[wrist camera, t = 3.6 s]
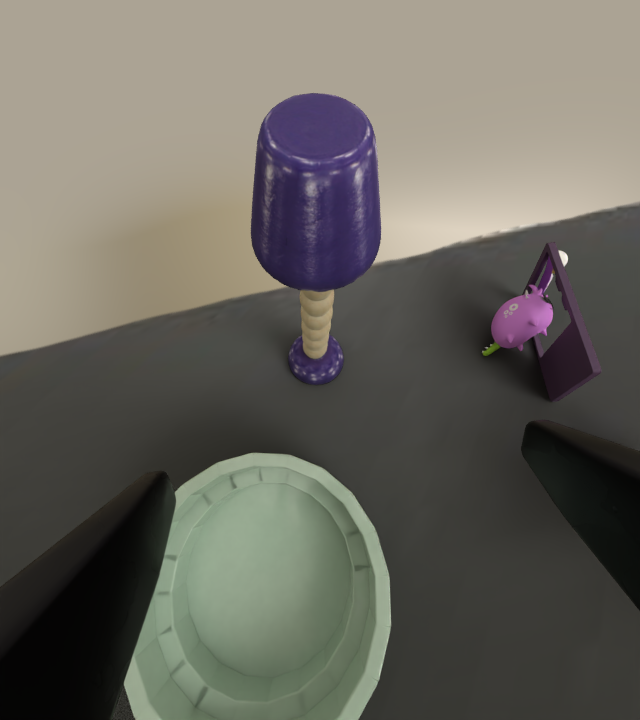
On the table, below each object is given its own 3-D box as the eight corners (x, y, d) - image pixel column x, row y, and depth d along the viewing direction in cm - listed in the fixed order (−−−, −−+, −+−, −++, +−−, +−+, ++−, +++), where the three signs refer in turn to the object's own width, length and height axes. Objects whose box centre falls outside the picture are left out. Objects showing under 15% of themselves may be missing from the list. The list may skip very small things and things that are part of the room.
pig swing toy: (620, 370, 16) (568, 237, 19) (506, 379, 17) (477, 255, 21) (568, 401, 21) (536, 295, 25) (487, 406, 23) (467, 306, 26)
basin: (397, 500, 19) (419, 506, 15) (332, 756, 15) (338, 863, 11) (226, 431, 21) (203, 419, 17) (122, 644, 17) (56, 699, 12)
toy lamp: (360, 359, 23) (444, 111, 7) (322, 405, 22) (328, 219, 6) (312, 324, 24) (300, 46, 9) (273, 366, 23) (175, 125, 7)
